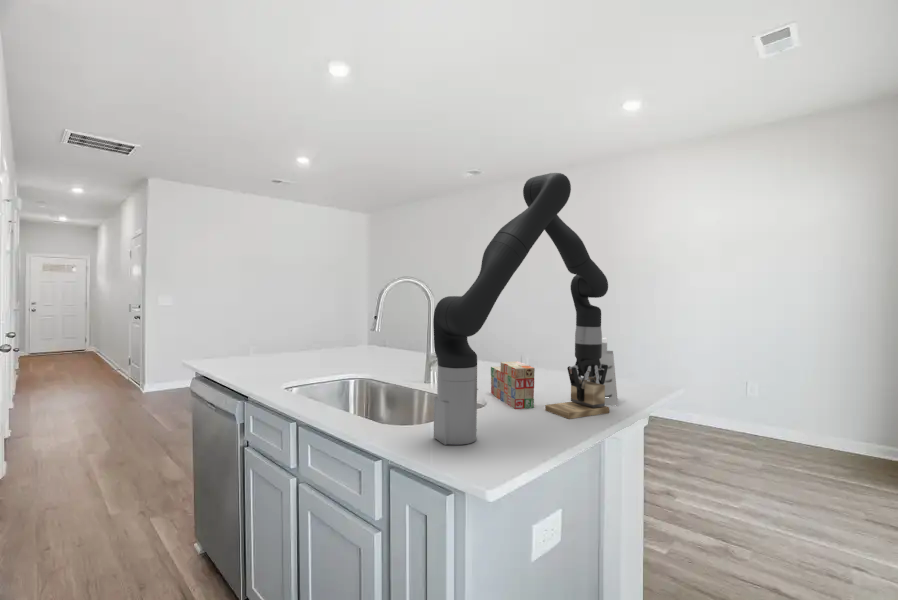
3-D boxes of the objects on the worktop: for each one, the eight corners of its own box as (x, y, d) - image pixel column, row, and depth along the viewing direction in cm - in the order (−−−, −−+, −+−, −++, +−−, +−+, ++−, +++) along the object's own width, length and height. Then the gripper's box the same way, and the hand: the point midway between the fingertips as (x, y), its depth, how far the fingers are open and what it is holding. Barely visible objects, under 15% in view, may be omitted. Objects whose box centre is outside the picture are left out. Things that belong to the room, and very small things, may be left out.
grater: (582, 403, 144) (583, 339, 143) (583, 396, 154) (584, 336, 153) (618, 406, 140) (619, 340, 140) (617, 398, 150) (618, 337, 150)
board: (568, 419, 126) (568, 413, 126) (545, 410, 135) (545, 404, 134) (609, 412, 132) (609, 407, 132) (584, 405, 141) (584, 399, 141)
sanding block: (592, 407, 130) (593, 386, 130) (570, 400, 138) (571, 380, 138) (604, 406, 132) (604, 385, 132) (582, 399, 140) (582, 379, 140)
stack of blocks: (490, 393, 157) (490, 357, 156) (507, 393, 158) (508, 357, 158) (514, 409, 136) (515, 367, 136) (534, 408, 137) (534, 367, 137)
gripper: (578, 344, 128) (577, 405, 129) (616, 342, 135) (615, 400, 135) (560, 341, 135) (559, 399, 135) (597, 339, 141) (596, 395, 142)
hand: (587, 399), depth 135 cm, fingers closed on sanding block, 4 cm apart
